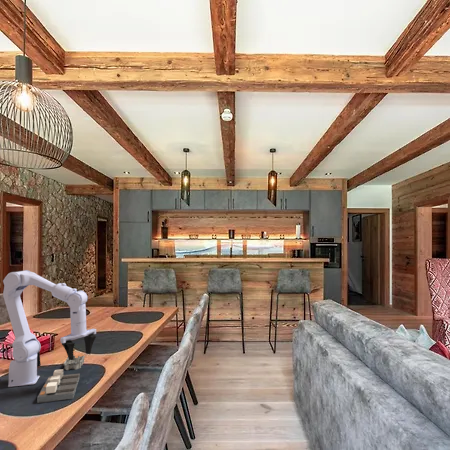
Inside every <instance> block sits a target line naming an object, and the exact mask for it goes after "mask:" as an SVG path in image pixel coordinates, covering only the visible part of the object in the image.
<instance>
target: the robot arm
mask: <svg viewBox="0 0 450 450" xmlns="http://www.w3.org/2000/svg"><path fill="white" fill-rule="evenodd" d="M2 282H3V285H4V286H3V293H2V296H3V300H4V303H5V306H6V307H5V308H6V310H7V313H8V318H9V320H10V324H11V327H12V330H13V334H14V337H15V338H14V340H13V342H12V345H11V346H12V358H13V360H10V363H9V366H8V385H7V387H8V388H11V387H12V388H13V387H18V386H19V387H20V386H28V385H29V386H30V385H36V383H37V382H38V380H39V378H40V377H41V376H40V375H38V366H37V353H38V352H39V351H41V347H42V346H41V343H40V341H39V340H38V339H37V336H36V334H34V333H32V332H31V330H30V325H29V322H28V319H27V316H26V312H25V309H24V306H23V305H24V304H23V302H22V299H21V298H22V297H21V295H22V293H23V292H24V290H25V289H26V288H28V286H35V287H37V288H40V289H43V290H44V291H48V292H51V296H52V297H54V298H56V299H58V300H59V301H62V302H65V303H66V304H67V305H68V307H69V310H70V313H69V314H70V333H69V334H67V335H65V336H62V337H60V344H61V345H62V347H63V348H64V350H65V352H66V354H67V358H68V359H69V360H73V358H74V356H75V354H74V350H75V342H73V341H74V340H77V339H81V338H83V340H84V347H85V354H86V355H91V353H92V348H93V345H94V342H95V340H96V337H97V335H96V334H97V328H91V329H88V328H87V311H86V310H87V307H86V303H87V302H88V295H87V293H86V292H85V291H84V290H81V289H79V290H78V289H77V288H72V287H70V286H67V284H66V283H65V282H62V283H61V282H59V283H54V282H52V281H50V280H48V279H46V278H45V277H43V276H41V275H39V274H37V273H36V272H33V271H30V270H29V269H24V270H19V271H11V272H9V273H8V274H7V275H6V276H5V277H4V278H3V280H2Z"/></svg>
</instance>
